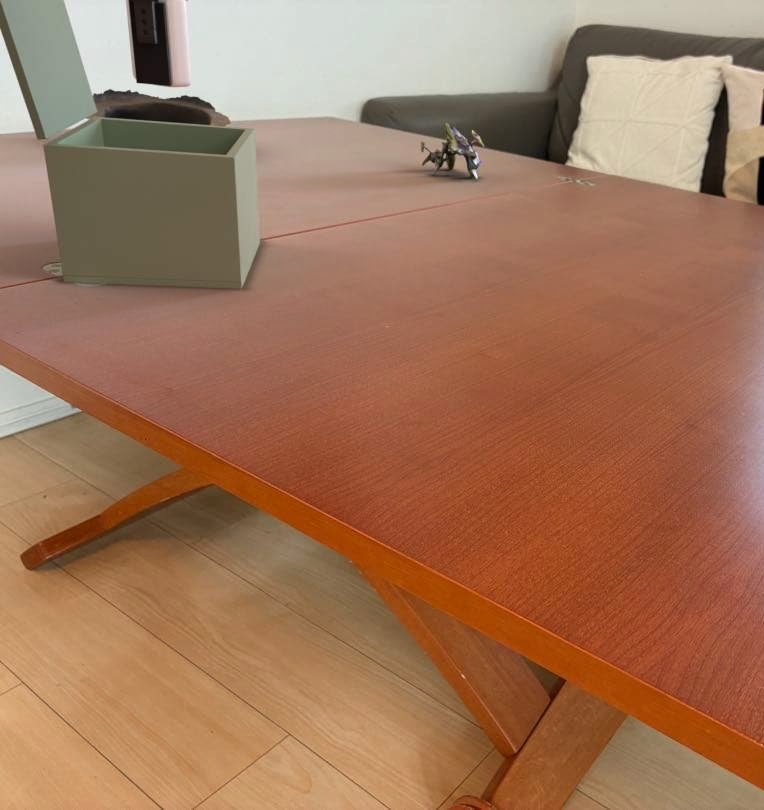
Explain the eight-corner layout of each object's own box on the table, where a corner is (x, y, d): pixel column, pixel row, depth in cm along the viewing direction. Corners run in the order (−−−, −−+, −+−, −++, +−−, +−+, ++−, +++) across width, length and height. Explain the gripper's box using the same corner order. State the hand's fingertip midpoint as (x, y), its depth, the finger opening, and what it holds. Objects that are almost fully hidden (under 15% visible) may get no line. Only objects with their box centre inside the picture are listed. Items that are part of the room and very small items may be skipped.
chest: (260, 244, 110) (254, 128, 103) (241, 291, 94) (234, 157, 87) (109, 237, 106) (94, 116, 100) (64, 284, 90) (42, 144, 84)
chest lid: (42, -73, 91) (33, -72, 90) (-27, -81, 75) (-37, -81, 75) (97, 112, 99) (90, 112, 99) (46, 139, 84) (37, 140, 84)
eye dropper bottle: (183, 80, 79) (172, -66, 74) (194, 89, 75) (183, -65, 70) (131, 77, 77) (117, -73, 72) (140, 86, 73) (125, -73, 68)
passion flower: (470, 208, 161) (494, 164, 152) (415, 196, 157) (437, 150, 147) (465, 164, 166) (488, 119, 157) (412, 151, 162) (432, 104, 153)
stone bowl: (129, 132, 164) (128, 81, 160) (253, 158, 163) (255, 109, 159) (45, 150, 142) (41, 92, 138) (187, 181, 141) (188, 124, 137)
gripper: (159, -257, 59) (185, 97, 69) (207, -209, 74) (222, 73, 85) (40, -277, 57) (85, 88, 67) (115, -223, 73) (142, 66, 83)
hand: (161, 79), depth 76 cm, fingers closed on eye dropper bottle, 5 cm apart
